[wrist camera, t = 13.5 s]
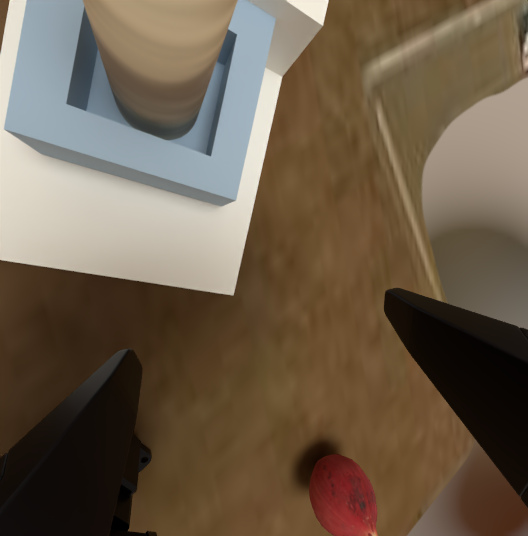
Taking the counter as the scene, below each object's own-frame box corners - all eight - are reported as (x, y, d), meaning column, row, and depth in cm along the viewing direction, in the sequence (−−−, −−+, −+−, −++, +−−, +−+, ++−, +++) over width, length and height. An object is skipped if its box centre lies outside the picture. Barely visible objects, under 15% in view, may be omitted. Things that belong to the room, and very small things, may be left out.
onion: (298, 441, 26) (353, 522, 19) (344, 431, 28) (408, 500, 21) (291, 493, 27) (342, 592, 19) (336, 480, 29) (397, 564, 22)
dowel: (188, 152, 17) (279, -82, 4) (103, 119, 15) (-180, -481, 2) (207, 78, 17) (355, -385, 4) (123, 35, 15) (-66, -1070, 2)
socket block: (221, 206, 20) (236, 200, 16) (41, 154, 15) (3, 129, 12) (253, 59, 19) (276, 18, 15) (76, -38, 15) (49, -128, 11)
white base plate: (231, 294, 21) (256, 315, 16) (-28, 253, 15) (-135, 266, 10) (284, 55, 21) (330, -9, 15) (33, -93, 14) (-46, -297, 9)
